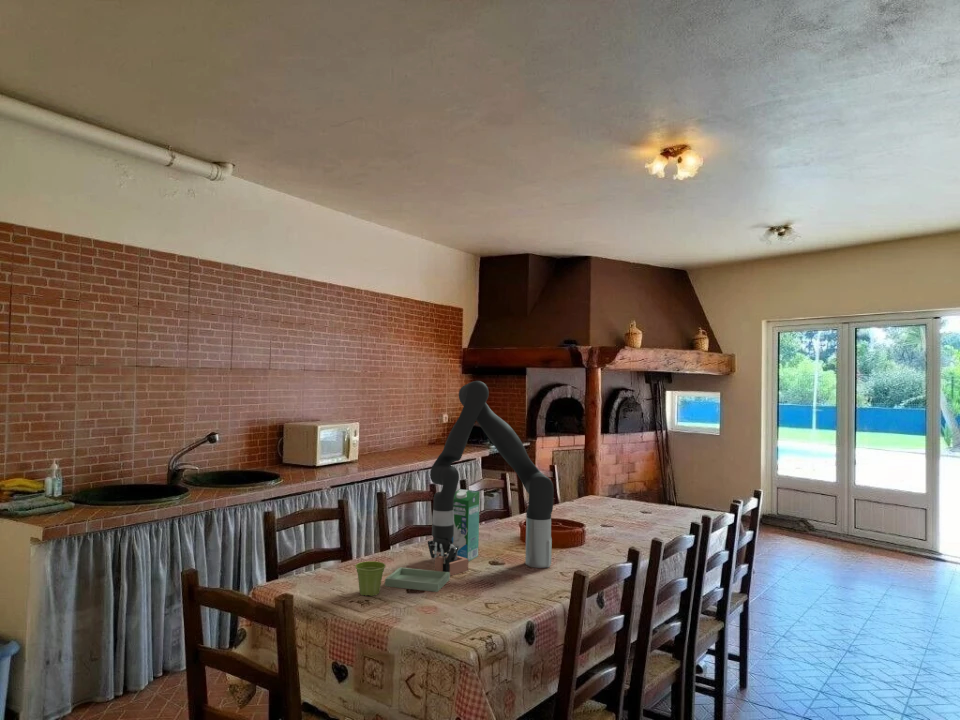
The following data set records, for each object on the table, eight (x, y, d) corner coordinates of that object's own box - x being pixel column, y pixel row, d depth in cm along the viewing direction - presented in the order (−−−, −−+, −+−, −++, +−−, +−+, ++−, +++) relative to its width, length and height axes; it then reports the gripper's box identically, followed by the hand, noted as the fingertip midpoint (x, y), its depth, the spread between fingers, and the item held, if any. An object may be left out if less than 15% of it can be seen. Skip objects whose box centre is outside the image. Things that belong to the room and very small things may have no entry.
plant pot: (371, 586, 201) (371, 559, 201) (391, 592, 195) (391, 565, 195) (348, 593, 193) (349, 565, 194) (368, 600, 187) (368, 571, 188)
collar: (457, 566, 223) (457, 550, 223) (468, 570, 219) (468, 553, 220) (432, 573, 214) (432, 556, 215) (442, 577, 211) (443, 560, 211)
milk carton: (446, 558, 234) (447, 492, 234) (458, 552, 242) (459, 488, 242) (467, 562, 229) (468, 494, 230) (478, 556, 237) (479, 490, 238)
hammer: (458, 569, 221) (459, 546, 221) (455, 573, 216) (455, 549, 216) (454, 568, 221) (455, 545, 221) (450, 572, 216) (451, 549, 217)
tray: (449, 579, 209) (449, 572, 209) (437, 591, 196) (437, 584, 196) (399, 574, 213) (400, 567, 213) (385, 586, 201) (385, 578, 201)
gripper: (465, 524, 213) (463, 575, 212) (437, 517, 222) (436, 566, 222) (449, 527, 207) (447, 580, 207) (421, 520, 217) (420, 570, 216)
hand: (441, 572), depth 214 cm, fingers closed on collar, 3 cm apart
